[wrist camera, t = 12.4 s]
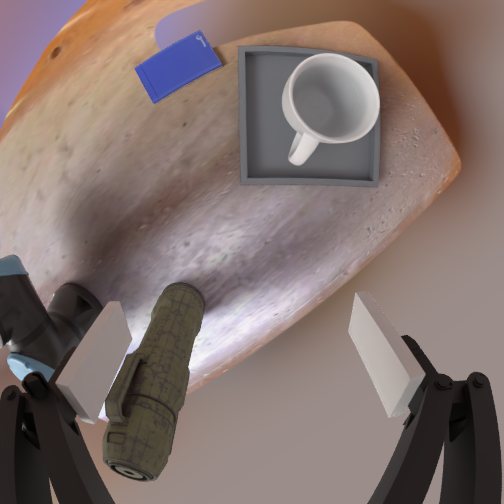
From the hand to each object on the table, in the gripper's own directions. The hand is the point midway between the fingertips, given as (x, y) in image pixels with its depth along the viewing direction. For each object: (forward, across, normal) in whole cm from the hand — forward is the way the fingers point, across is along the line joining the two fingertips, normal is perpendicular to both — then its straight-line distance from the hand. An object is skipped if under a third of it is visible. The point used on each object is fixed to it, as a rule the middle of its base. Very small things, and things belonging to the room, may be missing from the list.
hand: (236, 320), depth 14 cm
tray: (+31, +11, +14) cm, 36 cm away
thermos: (+32, -12, -19) cm, 39 cm away
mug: (+31, +11, +14) cm, 35 cm away
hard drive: (+33, -9, +24) cm, 41 cm away
